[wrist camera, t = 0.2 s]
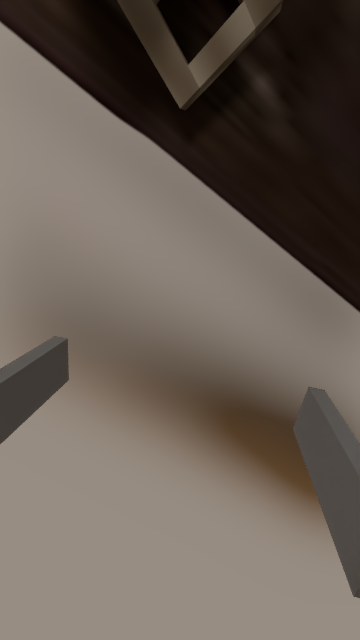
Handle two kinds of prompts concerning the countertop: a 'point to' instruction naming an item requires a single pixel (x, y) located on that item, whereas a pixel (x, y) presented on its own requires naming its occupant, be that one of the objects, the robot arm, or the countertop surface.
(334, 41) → the countertop surface
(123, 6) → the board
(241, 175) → the countertop surface
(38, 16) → the countertop surface
